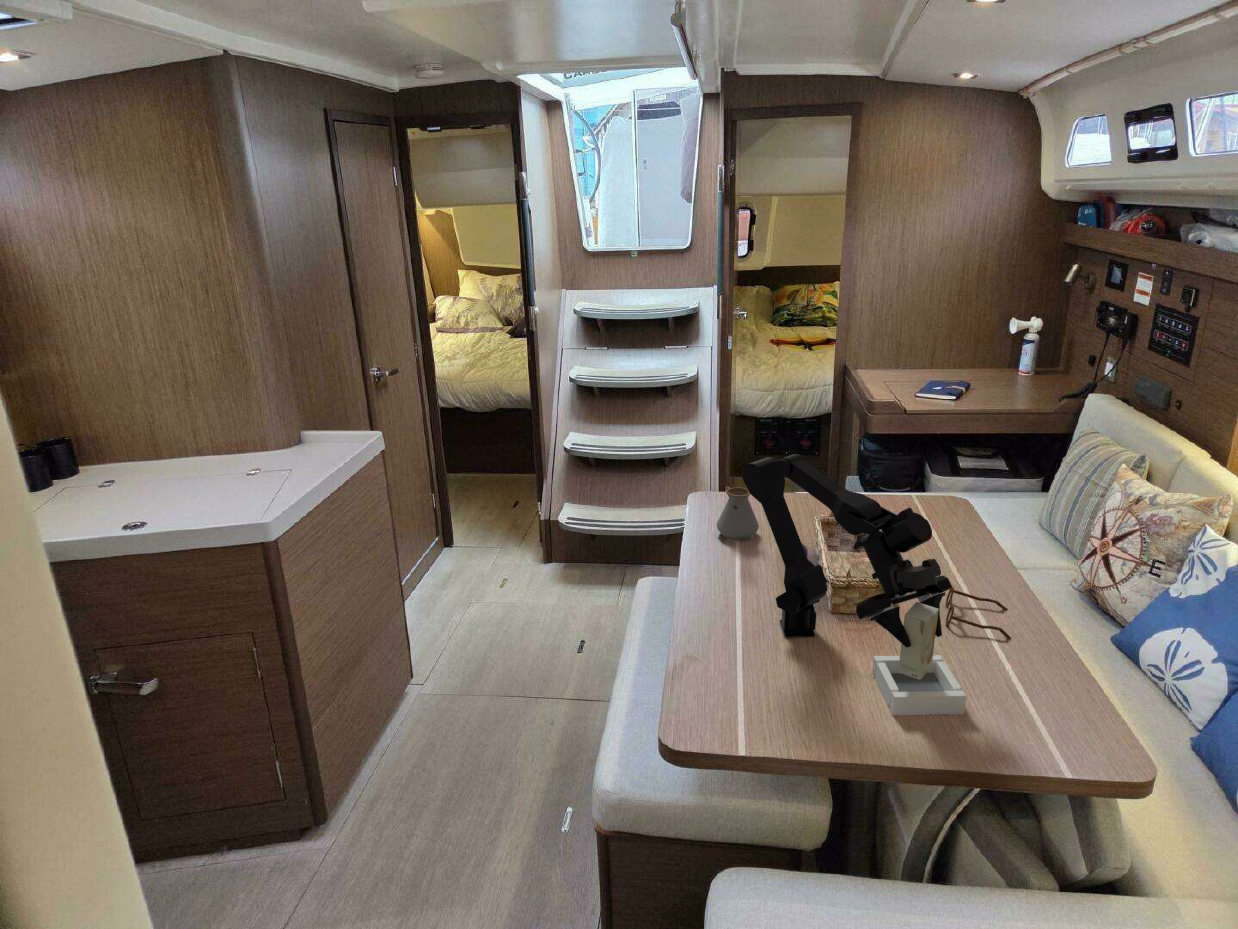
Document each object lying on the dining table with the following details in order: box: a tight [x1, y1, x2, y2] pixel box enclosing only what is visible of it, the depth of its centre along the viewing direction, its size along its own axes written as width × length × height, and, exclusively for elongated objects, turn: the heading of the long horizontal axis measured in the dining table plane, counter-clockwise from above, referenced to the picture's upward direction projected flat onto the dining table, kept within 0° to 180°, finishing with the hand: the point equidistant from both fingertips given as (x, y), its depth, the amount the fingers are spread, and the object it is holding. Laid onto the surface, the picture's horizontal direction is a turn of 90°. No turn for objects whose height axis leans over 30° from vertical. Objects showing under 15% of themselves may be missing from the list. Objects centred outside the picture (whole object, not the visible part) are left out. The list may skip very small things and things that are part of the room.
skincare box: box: [898, 601, 939, 680], centre depth 147 cm, size 6×4×12 cm
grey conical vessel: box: [716, 486, 760, 542], centre depth 213 cm, size 21×12×15 cm, turn 168°
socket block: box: [871, 654, 967, 716], centre depth 152 cm, size 13×13×4 cm
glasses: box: [945, 586, 1012, 640], centre depth 176 cm, size 13×13×5 cm
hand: (924, 641), depth 145 cm, fingers closed on skincare box, 7 cm apart
